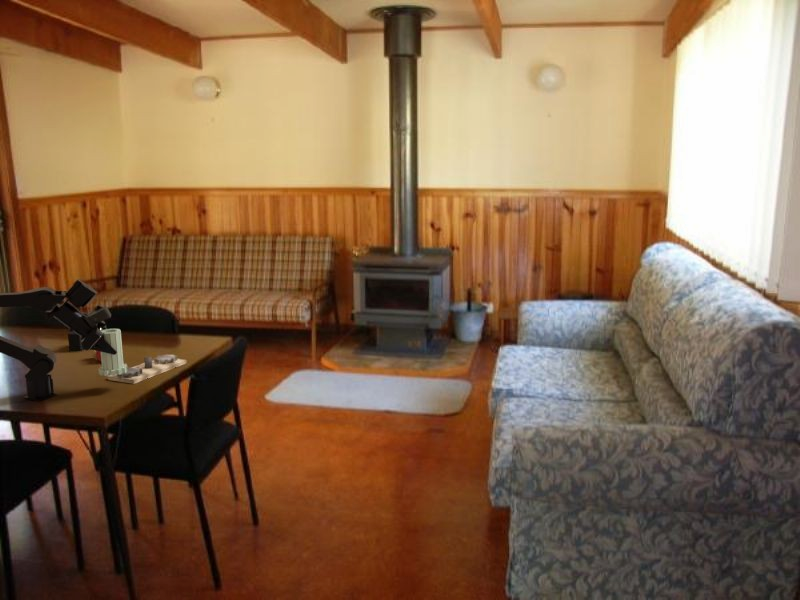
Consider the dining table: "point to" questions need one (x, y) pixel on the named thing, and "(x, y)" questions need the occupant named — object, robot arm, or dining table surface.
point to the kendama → (97, 355)
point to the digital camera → (75, 342)
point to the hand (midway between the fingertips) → (116, 350)
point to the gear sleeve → (110, 361)
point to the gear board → (148, 368)
